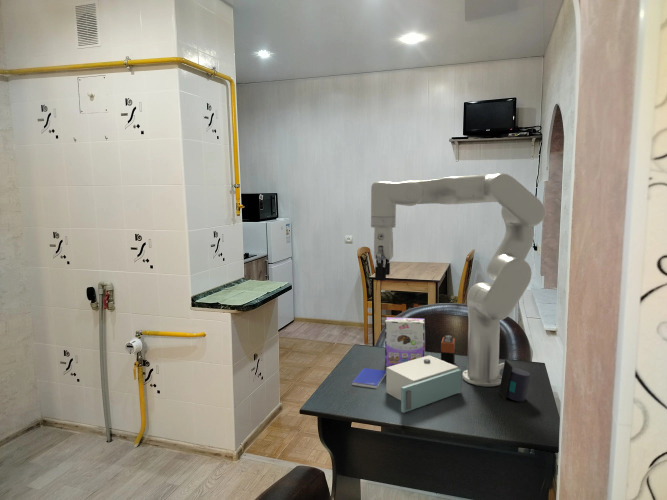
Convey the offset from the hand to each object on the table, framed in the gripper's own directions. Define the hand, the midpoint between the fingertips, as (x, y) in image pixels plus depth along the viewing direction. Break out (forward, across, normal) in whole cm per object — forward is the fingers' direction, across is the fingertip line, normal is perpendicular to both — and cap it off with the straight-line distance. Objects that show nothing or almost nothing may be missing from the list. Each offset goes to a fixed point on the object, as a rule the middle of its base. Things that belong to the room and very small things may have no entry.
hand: (382, 277), depth 140 cm
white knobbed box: (+34, -4, -13) cm, 37 cm away
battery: (+34, +20, -21) cm, 45 cm away
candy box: (+35, +18, -6) cm, 39 cm away
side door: (+34, -11, -17) cm, 39 cm away
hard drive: (+35, +3, +4) cm, 36 cm away
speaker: (+34, -2, -40) cm, 52 cm away
